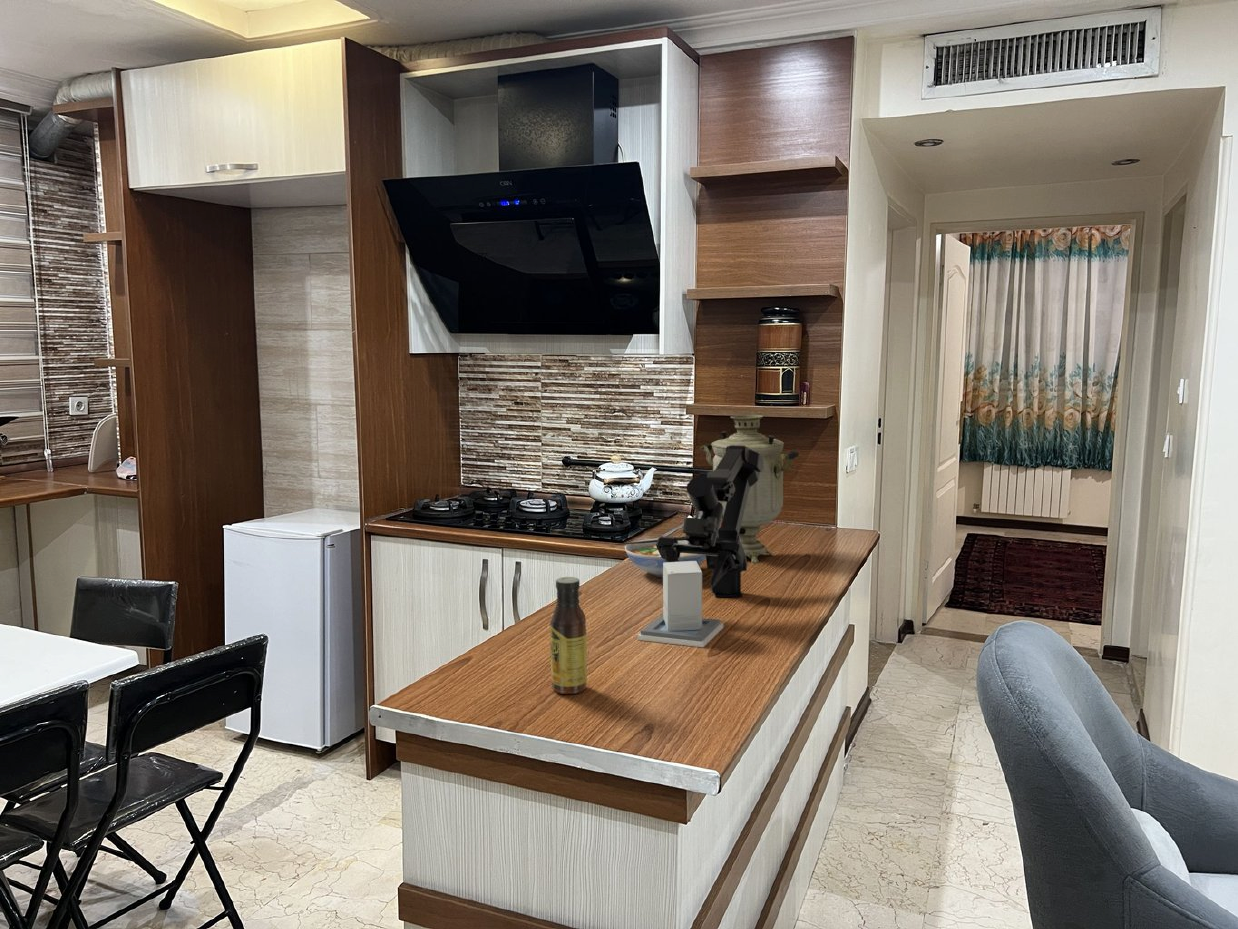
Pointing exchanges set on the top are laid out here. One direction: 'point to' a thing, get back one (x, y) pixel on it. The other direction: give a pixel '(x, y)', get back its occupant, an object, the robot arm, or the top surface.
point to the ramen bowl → (655, 555)
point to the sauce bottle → (568, 639)
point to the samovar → (768, 488)
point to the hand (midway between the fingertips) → (691, 583)
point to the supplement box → (682, 595)
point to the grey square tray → (681, 633)
